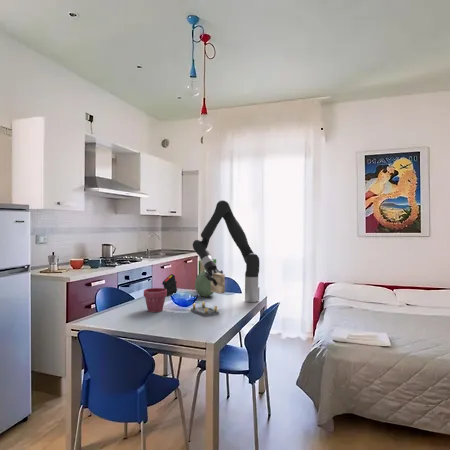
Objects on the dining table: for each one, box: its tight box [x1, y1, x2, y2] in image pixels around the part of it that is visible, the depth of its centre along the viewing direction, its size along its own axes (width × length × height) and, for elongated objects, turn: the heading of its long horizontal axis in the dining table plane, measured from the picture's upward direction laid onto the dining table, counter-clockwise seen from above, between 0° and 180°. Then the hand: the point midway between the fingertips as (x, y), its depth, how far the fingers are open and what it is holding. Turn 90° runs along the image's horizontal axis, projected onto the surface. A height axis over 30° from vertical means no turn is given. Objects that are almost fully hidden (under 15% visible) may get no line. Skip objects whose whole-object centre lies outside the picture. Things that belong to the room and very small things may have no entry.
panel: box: [211, 273, 226, 295], centre depth 234 cm, size 4×10×12 cm, turn 36°
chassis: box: [190, 301, 220, 317], centre depth 220 cm, size 10×16×4 cm, turn 36°
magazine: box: [161, 274, 178, 297], centre depth 270 cm, size 4×13×15 cm, turn 149°
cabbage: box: [194, 270, 215, 298], centre depth 266 cm, size 16×19×20 cm
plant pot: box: [143, 287, 168, 313], centre depth 223 cm, size 14×14×13 cm
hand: (219, 284), depth 233 cm, fingers closed on panel, 4 cm apart
